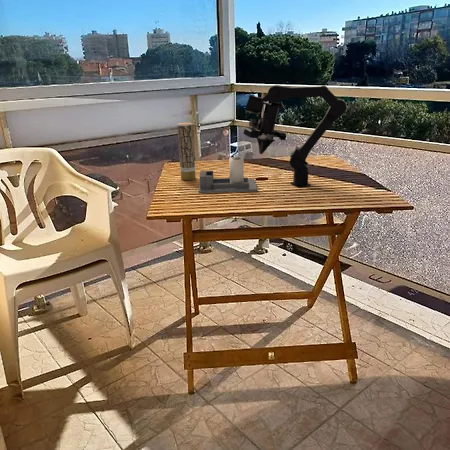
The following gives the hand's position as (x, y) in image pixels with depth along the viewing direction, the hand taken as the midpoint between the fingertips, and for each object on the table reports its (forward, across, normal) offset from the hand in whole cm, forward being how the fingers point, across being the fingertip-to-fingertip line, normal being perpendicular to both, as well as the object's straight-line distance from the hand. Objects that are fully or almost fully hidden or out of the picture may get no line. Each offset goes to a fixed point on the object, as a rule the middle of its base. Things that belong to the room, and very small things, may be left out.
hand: (260, 153), depth 169 cm
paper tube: (+20, +20, -22) cm, 36 cm away
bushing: (+14, +9, 0) cm, 16 cm away
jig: (+16, +12, -2) cm, 20 cm away
